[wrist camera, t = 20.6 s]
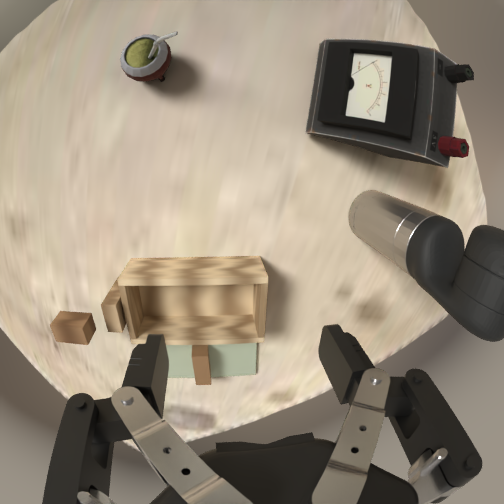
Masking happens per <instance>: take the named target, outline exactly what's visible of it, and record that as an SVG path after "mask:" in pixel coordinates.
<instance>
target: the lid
mask: <svg viewBox="0 0 504 504" xmlns="http://www.w3.org/2000/svg"><path fill="white" fill-rule="evenodd" d="M166 348H167V353H168V358H169V371H168V378H195V380H196V385H211V377H227V376H243V375H256V348H257V343H243V344H219V345H166Z"/></svg>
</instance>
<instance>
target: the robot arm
mask: <svg viewBox="0 0 504 504" xmlns="http://www.w3.org/2000/svg"><path fill="white" fill-rule="evenodd" d="M349 224H350V227H351V229H352V231H353V232H354V234H355V235H357V236H358V237H359V238H361V239H362V240H363V241H365V242H366V243H367V244H369V245H370V246H372V247H373V248H374V249H376V250H377V251H378V252H380V253H381V254H383V255H384V256H385V257H387V258H388V259H389V260H391V261H392V262H393V263H395V264H396V265H397V266H399V267H400V268H401V269H403V270H404V271H405V272H407V273H408V274H409V275H410V276H412V277H413V278H414V279H415V280H416V281H417V283H418V284H419V285H420V286H421V287H422V288H423V289H424V290H425V291H426V292H428V293H429V294H430V295H431V296H432V297H433V298H434V299H435V300H436V301H437V302H438V303H439V304H440V305H441V306H442V307H443V308H444V309H445V310H446V311H447V312H448V313H449V314H450V315H451V316H452V317H453V318H454V319H455V320H456V321H457V322H458V323H459V324H461V325H462V326H463V327H464V328H466V329H467V330H468V331H469V332H471V333H472V334H474V335H476V336H477V337H479V338H481V339H483V340H487V341H492V342H495V341H500V340H502V339H503V338H504V231H503V230H501V229H499V228H496V227H493V226H488V225H480V226H477V227H475V228H474V229H473V231H472V233H471V235H470V237H469V240H468V243H467V245H466V248H465V251H464V238H463V234H462V232H461V230H460V228H459V226H458V225H457V224H456V223H455V222H453V221H451V220H450V219H447V218H445V217H443V216H440V215H438V214H436V213H433V212H431V211H429V210H426V209H423V208H421V207H418V206H416V205H413V204H411V203H408V202H406V201H403V200H400V199H398V198H395V197H392V196H390V195H387V194H384V193H382V192H379V191H375V190H370V191H366V192H363V193H362V194H360V195H359V196H358V197H357V198H356V199H355V200H354V202H353V203H352V205H351V208H350V212H349ZM319 358H320V361H321V363H322V365H323V367H324V369H325V371H326V374H327V376H328V378H329V380H330V382H331V384H332V387H333V389H334V391H335V393H336V395H337V397H338V400H339V402H340V404H345V403H349V405H350V408H349V411H348V413H347V415H346V418H345V420H344V423H343V425H342V428H341V430H340V432H339V435H338V437H337V439H336V441H335V443H334V442H331V441H328V440H324V439H318V438H314V436H313V433H312V432H311V433H306V434H300V435H294V436H289V437H286V438H283V439H281V440H278V441H276V442H272V443H269V444H255V443H247V442H224V443H216V449H214V450H211V451H207V452H205V453H203V454H201V455H199V456H197V454H195V452H194V451H193V450H192V449H191V448H190V447H189V446H188V445H187V444H186V443H185V442H184V441H183V440H182V438H181V437H180V436H179V435H178V434H177V433H176V432H175V430H174V429H173V428H172V427H171V426H170V425H169V424H168V423H167V422H166V421H165V420H162V418H163V410H164V401H165V393H166V386H167V378H168V371H169V358H168V353H167V348H166V343H165V338H164V335H163V334H148V336H147V340H146V343H145V344H138V345H137V346H136V347H135V348H134V349H133V351H132V354H131V359H130V361H129V365H128V367H127V371H126V374H125V377H124V381H123V384H122V387H121V388H119V389H117V390H116V391H115V392H114V393H113V395H112V397H110V398H106V399H100V400H93V398H92V397H91V396H90V395H88V394H85V393H79V394H75V395H73V396H72V397H71V398H70V399H69V400H68V402H67V404H66V408H65V411H64V414H63V417H62V420H61V424H60V427H59V430H58V434H57V438H56V441H55V445H54V449H53V453H52V457H51V461H50V466H49V470H48V475H47V481H46V486H45V491H44V497H43V503H42V504H116V503H115V502H114V501H113V500H111V499H110V498H109V486H110V475H111V465H112V456H113V448H114V442H116V441H122V440H128V439H132V440H133V441H134V443H135V444H136V446H137V447H138V449H139V450H140V451H141V453H142V454H143V455H144V457H145V458H146V460H147V461H148V462H149V464H150V465H151V466H152V468H153V469H154V470H155V472H156V473H157V474H158V476H159V477H160V478H161V479H162V481H163V482H164V483H165V484H166V485H167V487H166V488H165V489H164V490H163V491H162V492H161V493H160V494H159V495H158V496H157V497H156V498H155V499H154V500H153V501H152V502H151V503H150V504H428V503H439V502H441V501H443V500H444V499H446V498H447V497H448V496H450V495H451V494H453V493H454V492H456V491H457V490H458V489H460V488H461V487H462V486H464V485H465V484H466V483H468V482H469V481H470V480H471V479H473V478H474V477H475V476H476V475H477V474H478V473H479V472H480V470H481V468H482V459H481V457H480V455H479V453H478V452H477V450H476V448H475V447H474V445H473V443H472V441H471V440H470V438H469V436H468V435H467V433H466V432H465V430H464V428H463V427H462V425H461V424H460V422H459V420H458V419H457V417H456V416H455V414H454V412H453V411H452V409H451V408H450V406H449V405H448V403H447V402H446V400H445V399H444V397H443V396H442V394H441V393H440V391H439V390H438V388H437V387H436V385H435V384H434V383H433V381H432V380H431V378H430V377H429V375H428V374H427V373H426V372H424V371H423V370H420V369H411V370H409V371H407V373H406V375H405V377H390V376H389V375H388V373H387V372H385V371H384V370H382V369H378V368H375V367H374V365H373V364H372V362H371V361H370V359H369V358H368V356H367V355H366V353H365V351H363V348H362V347H361V345H360V344H359V342H358V341H357V339H356V338H355V337H354V336H352V335H351V334H350V333H348V332H346V333H344V332H343V330H342V329H341V327H340V326H339V325H338V324H335V325H327V326H324V327H323V329H322V334H321V340H320V345H319ZM384 417H389V419H390V421H391V424H392V426H393V427H394V430H395V432H396V434H397V436H398V438H399V440H400V442H401V445H402V447H403V449H404V451H405V453H406V455H407V458H408V460H409V462H410V464H411V467H410V468H409V471H408V478H409V479H408V482H407V481H405V480H403V479H401V478H399V477H397V476H395V475H393V474H391V473H389V472H387V471H385V470H383V469H381V468H379V467H377V466H375V465H374V464H372V463H371V460H372V457H373V454H374V451H375V448H376V445H377V441H378V438H379V434H380V431H381V428H382V424H383V420H384Z"/></svg>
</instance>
